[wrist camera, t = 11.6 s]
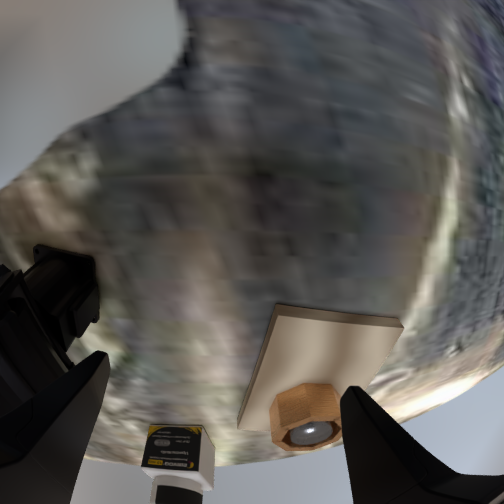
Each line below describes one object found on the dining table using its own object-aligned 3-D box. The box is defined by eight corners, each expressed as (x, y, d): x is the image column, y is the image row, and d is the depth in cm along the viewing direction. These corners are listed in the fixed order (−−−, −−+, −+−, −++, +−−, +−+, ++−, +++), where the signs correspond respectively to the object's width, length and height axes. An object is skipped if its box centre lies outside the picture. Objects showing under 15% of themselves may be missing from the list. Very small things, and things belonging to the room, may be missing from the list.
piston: (281, 414, 26) (285, 444, 23) (293, 392, 25) (298, 425, 21) (316, 414, 27) (322, 444, 23) (330, 393, 25) (339, 424, 22)
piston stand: (237, 419, 29) (237, 429, 27) (276, 303, 22) (278, 315, 21) (331, 421, 30) (333, 430, 29) (397, 318, 24) (404, 328, 22)
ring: (264, 420, 27) (266, 450, 23) (282, 381, 24) (288, 416, 20) (323, 421, 27) (329, 449, 24) (349, 384, 25) (360, 414, 21)
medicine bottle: (202, 424, 29) (195, 511, 18) (215, 448, 32) (213, 522, 21) (149, 423, 29) (133, 502, 18) (168, 447, 32) (158, 516, 21)
